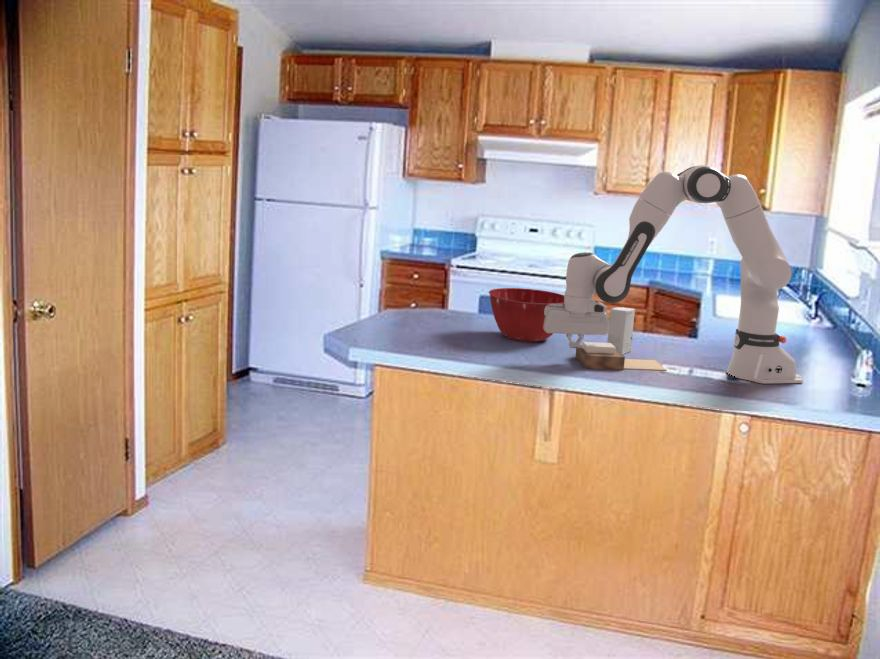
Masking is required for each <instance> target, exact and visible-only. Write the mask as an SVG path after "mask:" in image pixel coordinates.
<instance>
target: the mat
mask: <svg viewBox="0 0 880 659" xmlns="http://www.w3.org/2000/svg"><path fill="white" fill-rule="evenodd" d="M624 370H639V371H640V370H641V371H644V370H645V371H661V370H667V368H665V367H664V366H663V365H662V364H661V363H659V362H658V361H657V360H655V359H640V358H639V359H635V358H625V361H624Z"/></svg>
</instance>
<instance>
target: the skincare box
mask: <svg viewBox="0 0 880 659" xmlns="http://www.w3.org/2000/svg"><path fill="white" fill-rule="evenodd" d="M635 312H636V309H635V308H629V307H623V306H622V307H621V306H618V307H613V308H610V310H609V317H608V319H609V331H608V333H607V341H606V343H611V344H612V345H613V346H615V347H616V350H617V351H619V352H620V353H621V354H622V355H623V356H624V355H625V354H628V353H630V352H631V351H632V346H633V345H632V344H633V334H634V325H635V324H634V322H635V321H634V320H635Z"/></svg>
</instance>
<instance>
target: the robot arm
mask: <svg viewBox="0 0 880 659" xmlns="http://www.w3.org/2000/svg"><path fill="white" fill-rule="evenodd" d="M685 200H687V201H690V202H693V203H696V204H712V203H716V204H717V205H718V207H719V208H720V210H721V213H722V216H723V218H724V221H725V224H726V225H727V229H728V231H729V234H730V236H731V239H732V242H733V244H734V246H736V248H737V250H738V252H739V254H740V256H741V260H740V264H739V265H740V307H739V308H740V309H739V310H740V311H739V316H738V323H737V328H736V329H735V333H734V341H733V347H734V349H733V351H732V356H731V359H730V362H729V365H728V367H727V369H726V371H725V372H727V373H728V374H727V375H729V374H730V375H729V376H731V375H732V376H731V377H734V376H735V377H734V378H737V379H741V380H746V381H750V382H755V383H758V384H765V385H766V384H798V383H799V384H803V382H804V380H803V377H802V376H801V375H799V374H797V365H796V361H795V359H794V358H793V357H792V356H791V355H790V354H789V353H788V352H787V351H786V350H784V349H783V347H782V346H780V343H782V344H786V343H787V341H788V340H787V337H786V336H783V335H779V334H777V332H776V330H777V326H778V325H777V324H778V316H779V312H780V311H779V310H780V309H779V308H780V307H779V304H778V302H779V301H778V290H781V289H783V288H785V287H786V286H787V285H788V284H789V282H790V281H791V279H792V268H791V265H790V264H789V262H788V260H787V258H786V256H785V253H784V252H783V249H782V248H781V246H780V244H779V242H778V240H777V238H776V237H775V235H774V233H773V231H772V229H771V227H770V225H769V222H768V219H767V217H766V214H765V212H764V210H763V206H762V204H761V201H760V199H759V197H758V195H757V193H756V191H755V189H754V187H753V186H752V184H751V183H750V180H749V179H748V178H747V177H746V176H745V175H743V174H732V175H729V176H726V175H725V174H724V173H722V172H721V171H720V170H718V169H717V168H715V167H713V166H710V165H703V164H700V165H695V166H691V167H688V168H686V169H684V170H683V171H681V172H680V173H678V174H675V173H672V172H671V171H661V172H659V173H657V174H656V175H655V176H654V177H653V179H652V180H651V181H650V182H649V183H648V184H647V185H646V187H645V188H644V189H643V191H642V192H641V194H640V195H639V197H638V199H637V201H636V202H635V204H634V206H633V207H632V210H631V213H630V215H629V218H628V219H629V220H628V221H629V231H628V235H627V240H626V242H625V244H624V245H623V246H622V249H621V250H620V252H619V253H618V255H617V257H616V259H615V261H614V262H613V264H611V263H608V262H607V261H604V260H603V259H602V258H600V257H598V256H597V255H596V254H595V253H593V252H585V251H584V252H578V253H575V254H573V255H571V256H570V257H569V258H568V259H569V260H568V263H567V268H566V275H565V283H566V288H565V291H564V294H563V295H564V304H554V303H551V304H549V305H547V306H546V307H545V309H544V315H545V320H544V325H543V329H544V331H545V332H546V333H553V334H559V335H560V334H564V335H566V336H565V337H566V338H567V340H568V342H569V343H568V347H569V348H570V349H576V348H579V345H581V343H582V341H583V340H584V338H585V335H590V336H607V335H608V331H609V316H608V314H607V312H608V307H607V306H606V305H605V303H608V304H616V303H619V302H622V301H623V300H624V299H626V297H627V296H628V295H629V292H630V289H631V284H632V278H633V274H634V273H635V271H636V270H637V269H636V268H637V267H638V265H639V263H640V262H641V260H642V259H643V256H644V255H645V253H646V252H647V250H648V248H649V247H650V245H651V244H652V243H653V241H654V240H655V238H656V237H657V236H658V235H659V233H660V232H661V230H663V228H664V227H665V226H666V224H667V223H668V221H669V220H670V219H671V216H672V215H673V213H674V211H675V210H676V209H677V207H678V206H679V205H680V204H681V203H683V202H684V201H685ZM595 294H596V295H597V296H598V298H599V299H600V300H602V301H603V302H605V303H602V302H601V301H598V300H594V295H595ZM548 306H550V307H548ZM573 335H577V336H578V338H577V340H576V341H572V338H573Z"/></svg>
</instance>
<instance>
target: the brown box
mask: <svg viewBox="0 0 880 659" xmlns="http://www.w3.org/2000/svg"><path fill="white" fill-rule="evenodd" d="M582 347H583V344H580V345H579V348H575V358H576V359H577V360H578V362H579V363H580V364H581V365H582V366H583V367H584V368H585V369H594V370H596V369H597V370H598V369H601V370H619V371H621V370H623V371H624V370H625V369H624V361H625V359H626V357H625V356H624V354H623V355H622V354H621V353H620V352H619V351H617V350H616V351H615V354H609V353H587V352H586V351H585V350H584V349H583V348H582Z"/></svg>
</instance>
